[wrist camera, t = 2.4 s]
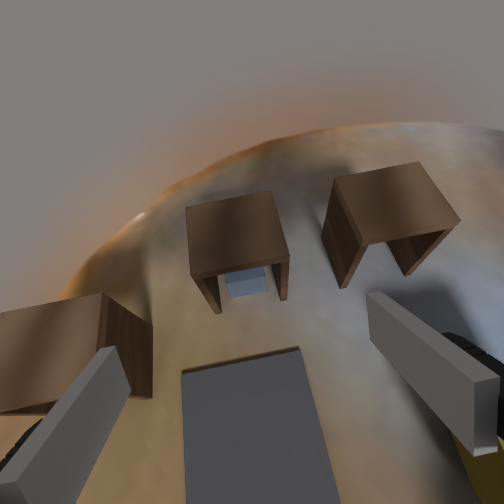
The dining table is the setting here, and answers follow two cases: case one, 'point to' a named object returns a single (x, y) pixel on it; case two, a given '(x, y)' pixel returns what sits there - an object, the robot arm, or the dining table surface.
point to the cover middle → (235, 242)
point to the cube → (246, 282)
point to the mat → (254, 435)
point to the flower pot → (485, 472)
